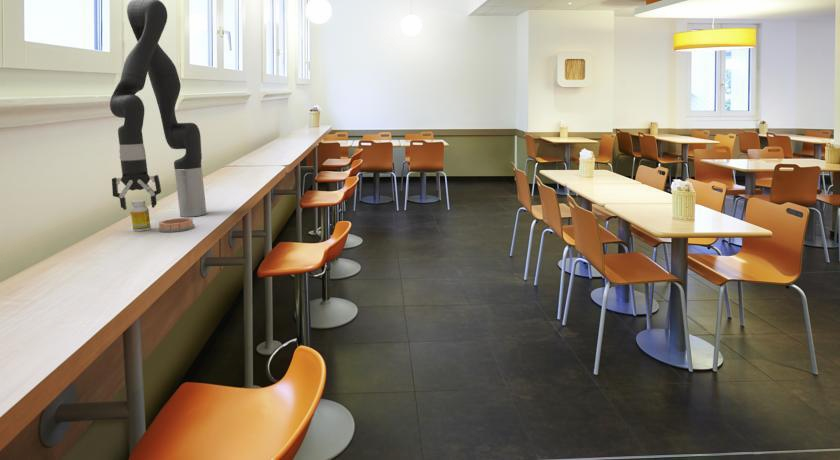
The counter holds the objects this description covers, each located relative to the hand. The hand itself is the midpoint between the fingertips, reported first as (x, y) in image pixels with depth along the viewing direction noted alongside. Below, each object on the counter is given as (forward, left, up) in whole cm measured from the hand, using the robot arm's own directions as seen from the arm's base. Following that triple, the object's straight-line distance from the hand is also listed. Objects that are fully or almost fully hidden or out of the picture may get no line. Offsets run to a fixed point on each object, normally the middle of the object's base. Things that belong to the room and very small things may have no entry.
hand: (139, 208), depth 203 cm
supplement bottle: (-1, 0, -8) cm, 7 cm away
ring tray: (+3, +11, -7) cm, 14 cm away
